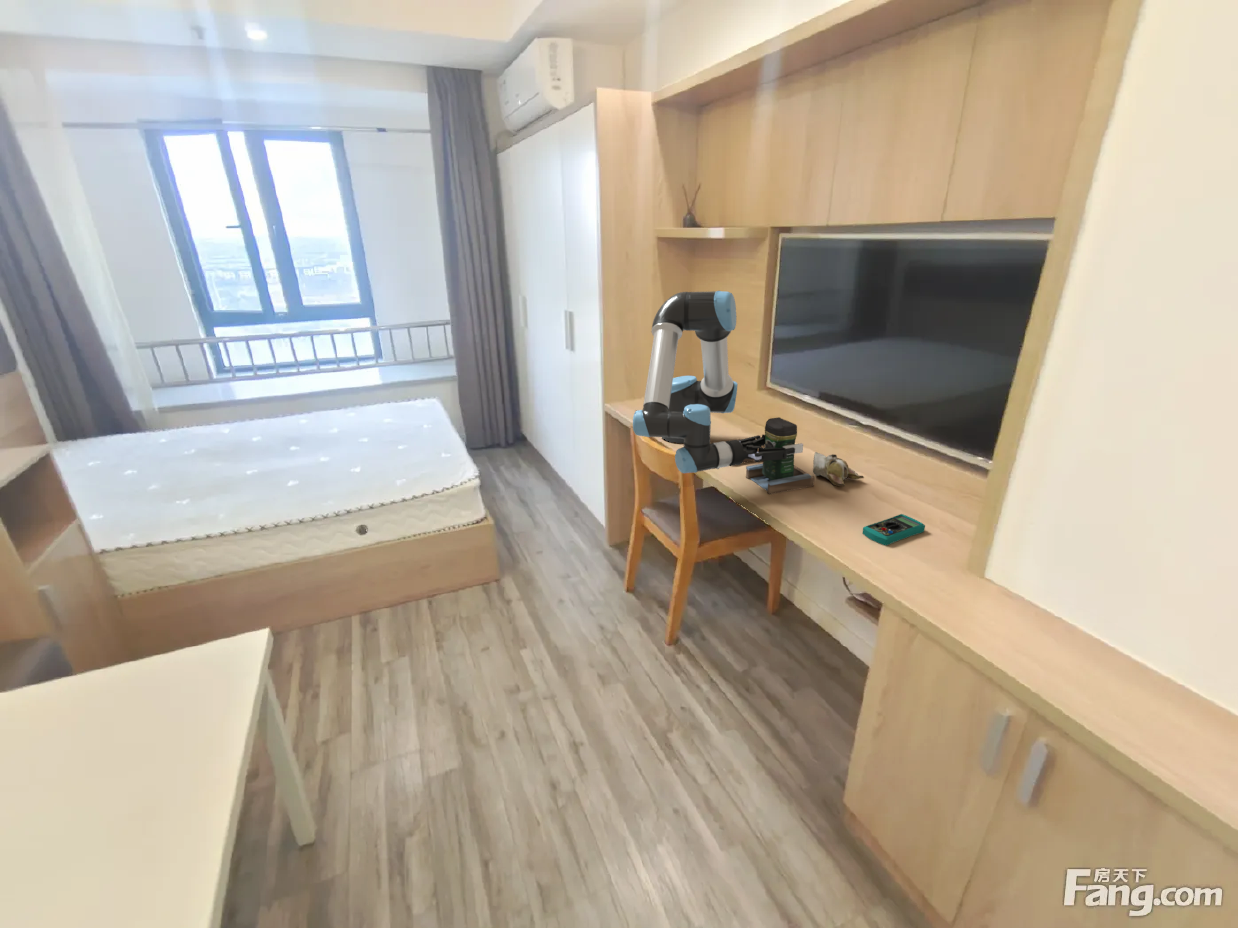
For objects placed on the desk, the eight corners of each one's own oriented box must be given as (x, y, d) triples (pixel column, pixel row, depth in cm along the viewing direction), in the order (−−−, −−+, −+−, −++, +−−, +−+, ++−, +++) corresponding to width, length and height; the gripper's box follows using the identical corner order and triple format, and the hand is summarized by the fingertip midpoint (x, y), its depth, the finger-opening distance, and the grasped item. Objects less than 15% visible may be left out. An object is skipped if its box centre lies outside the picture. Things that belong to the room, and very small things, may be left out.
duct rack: (727, 464, 188) (727, 453, 187) (766, 457, 193) (767, 447, 191) (770, 494, 165) (770, 483, 164) (813, 486, 169) (814, 474, 168)
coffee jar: (797, 480, 169) (803, 422, 162) (775, 485, 167) (779, 426, 160) (779, 469, 178) (783, 414, 171) (757, 473, 176) (761, 417, 169)
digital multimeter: (859, 535, 142) (861, 525, 141) (900, 521, 148) (902, 511, 147) (883, 548, 136) (885, 538, 135) (925, 533, 142) (927, 523, 140)
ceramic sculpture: (826, 443, 178) (868, 459, 167) (823, 467, 182) (863, 484, 171) (804, 451, 173) (846, 468, 162) (801, 476, 177) (841, 494, 165)
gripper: (710, 454, 174) (773, 444, 181) (744, 478, 156) (813, 466, 162) (710, 431, 172) (774, 422, 178) (745, 453, 153) (815, 442, 159)
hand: (793, 443), depth 170 cm, fingers closed on coffee jar, 8 cm apart
